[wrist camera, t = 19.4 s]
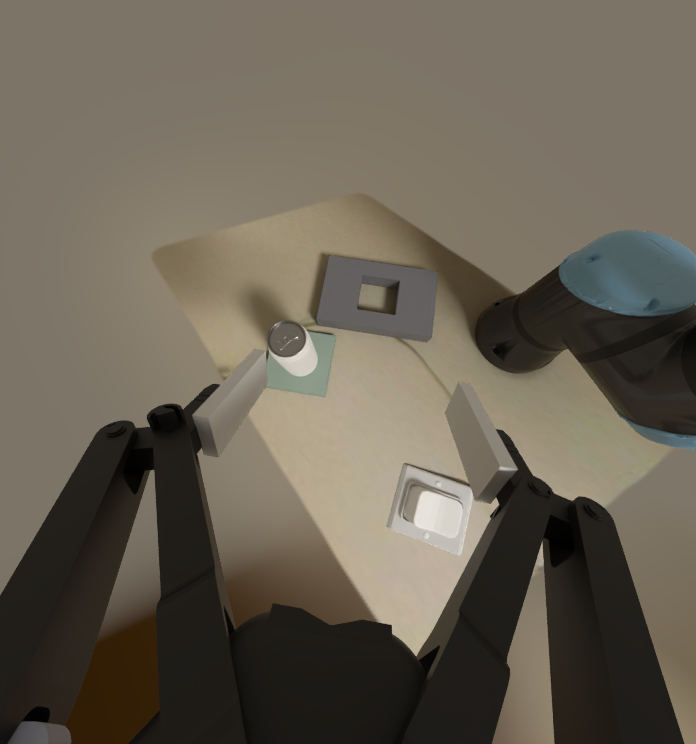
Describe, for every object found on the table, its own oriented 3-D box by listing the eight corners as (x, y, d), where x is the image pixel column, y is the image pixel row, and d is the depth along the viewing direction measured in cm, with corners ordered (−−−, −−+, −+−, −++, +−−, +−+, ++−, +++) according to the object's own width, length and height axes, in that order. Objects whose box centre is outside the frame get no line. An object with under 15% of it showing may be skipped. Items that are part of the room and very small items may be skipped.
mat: (335, 337, 49) (335, 335, 48) (325, 397, 46) (324, 396, 45) (276, 328, 49) (275, 326, 48) (262, 386, 47) (261, 386, 46)
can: (324, 363, 47) (318, 342, 35) (296, 384, 46) (280, 369, 34) (305, 338, 48) (292, 309, 36) (277, 357, 47) (254, 334, 35)
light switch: (406, 465, 41) (483, 492, 40) (401, 462, 45) (471, 486, 44) (387, 533, 39) (468, 565, 38) (385, 524, 43) (458, 552, 42)
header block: (432, 280, 52) (437, 271, 49) (426, 342, 49) (431, 336, 46) (330, 264, 53) (329, 255, 50) (318, 325, 49) (316, 318, 47)
